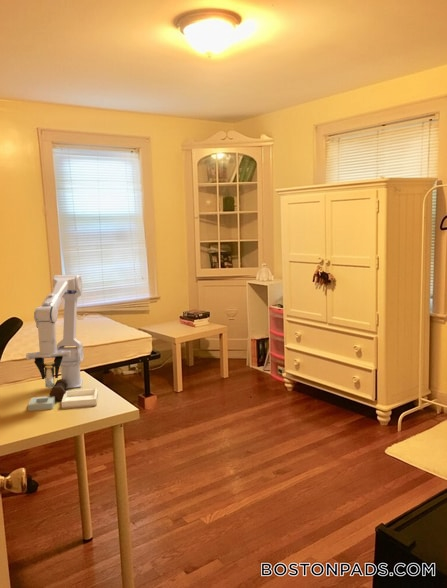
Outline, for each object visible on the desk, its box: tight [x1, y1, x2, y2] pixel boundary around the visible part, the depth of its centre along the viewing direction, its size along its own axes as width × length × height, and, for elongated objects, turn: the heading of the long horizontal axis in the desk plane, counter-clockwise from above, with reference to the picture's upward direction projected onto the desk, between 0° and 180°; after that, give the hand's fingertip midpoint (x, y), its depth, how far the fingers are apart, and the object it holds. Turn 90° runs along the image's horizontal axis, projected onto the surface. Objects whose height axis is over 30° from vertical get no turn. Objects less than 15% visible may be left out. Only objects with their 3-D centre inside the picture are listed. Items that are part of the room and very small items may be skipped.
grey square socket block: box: [27, 395, 56, 412], centre depth 172 cm, size 8×8×2 cm
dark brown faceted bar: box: [48, 378, 68, 402], centre depth 184 cm, size 6×5×15 cm
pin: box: [43, 362, 55, 388], centre depth 172 cm, size 4×4×8 cm
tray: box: [61, 387, 99, 410], centre depth 176 cm, size 12×12×2 cm
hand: (50, 377), depth 172 cm, fingers closed on pin, 4 cm apart
